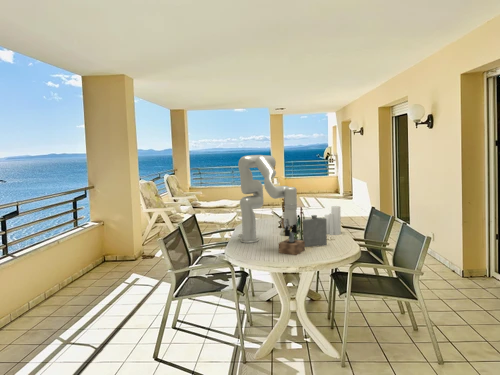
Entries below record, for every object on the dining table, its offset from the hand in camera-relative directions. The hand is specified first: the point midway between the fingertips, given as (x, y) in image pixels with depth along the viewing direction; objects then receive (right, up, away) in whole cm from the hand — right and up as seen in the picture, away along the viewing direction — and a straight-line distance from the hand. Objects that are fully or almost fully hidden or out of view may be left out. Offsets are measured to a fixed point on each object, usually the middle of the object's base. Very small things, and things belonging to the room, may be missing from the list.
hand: (290, 234), depth 244 cm
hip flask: (+17, -9, +14) cm, 24 cm away
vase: (+36, -5, +46) cm, 58 cm away
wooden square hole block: (+1, -11, +1) cm, 11 cm away
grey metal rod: (+1, -11, +1) cm, 11 cm away
